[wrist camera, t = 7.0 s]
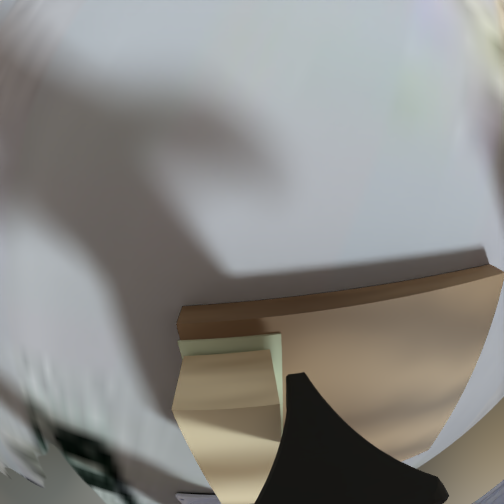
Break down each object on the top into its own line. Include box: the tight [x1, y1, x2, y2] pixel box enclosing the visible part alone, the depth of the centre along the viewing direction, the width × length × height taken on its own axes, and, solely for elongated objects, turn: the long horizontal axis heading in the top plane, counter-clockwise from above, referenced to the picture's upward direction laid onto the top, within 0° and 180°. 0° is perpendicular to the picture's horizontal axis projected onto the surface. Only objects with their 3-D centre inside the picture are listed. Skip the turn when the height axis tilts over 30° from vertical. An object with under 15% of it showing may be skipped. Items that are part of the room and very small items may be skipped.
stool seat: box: [176, 264, 504, 462], centre depth 14 cm, size 18×18×2 cm
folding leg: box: [172, 349, 281, 504], centre depth 11 cm, size 12×4×3 cm, turn 5°
